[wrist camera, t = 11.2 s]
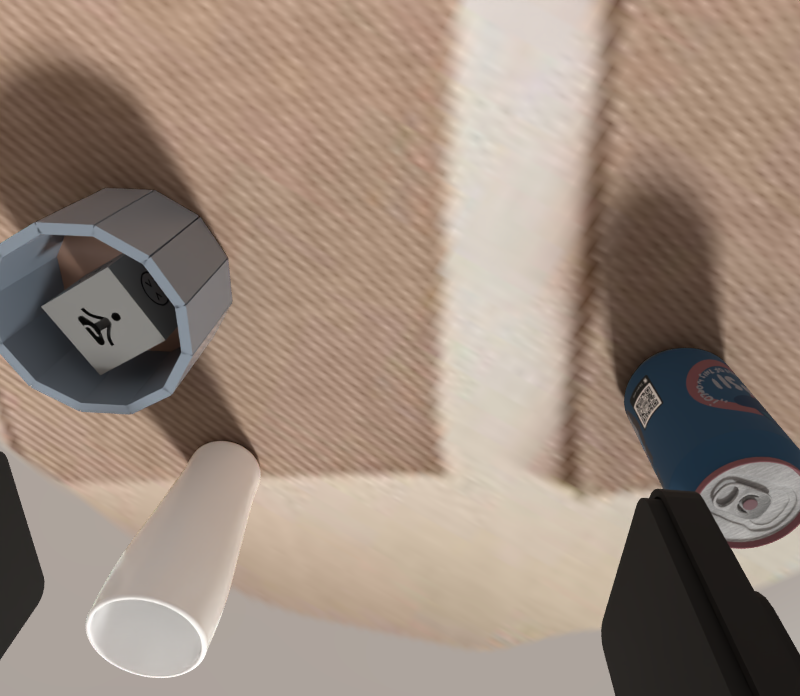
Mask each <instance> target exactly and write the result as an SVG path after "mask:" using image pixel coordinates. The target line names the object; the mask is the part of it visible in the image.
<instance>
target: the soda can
mask: <svg viewBox="0 0 800 696" xmlns="http://www.w3.org/2000/svg"><path fill="white" fill-rule="evenodd" d="M624 405H625V411H626V414H627V416H628V418H629V420H630V422H631V424H632V426H633V428H634V430H635V433H636V435H637V437H638V439H639V441H640V443H641V445H642V447H643V449H644V451H645V453H646V455H647V457H648V459H649V461H650V463H651V465H652V467H653V469H654V471H655V473H656V475H657V477H658V479H659V481H660V483H661V485H662V487H663V489H668V490H681V491H695V492H697V493H699V494H700V495H701V496H702V498H703V499H704V501H705V503H706V504H707V506H708V508H709V510H710V512H711V514H712V515H713V517H714V519H715V521H716V523H717V524H718V526H719V528H720V530H721V532H722V533H723V535H724V537H725V539H726V541H727V542H728V544H729V546H730V548H736V549H745V548H754V547H759V546H763V545H767V544H769V543H772V542H775V541H777V540H779V539H781V538H783V537H784V536H786V535H787V534H789V533H790V532H792V531H793V530H794V529H795V528H796V527H797V526H798V525H799V524H800V450H799V448H798V447H797V446H796V445H795V444H794V443H793V441H792V440H791V439H790V438H789V437H788V435H787V434H786V433H785V432H784V431H783V430H782V428H781V427H780V426H779V425H778V424H777V423H776V421H775V420H774V419H773V418H772V417H771V416H770V414H769V413H768V412H767V411H766V410H765V409H764V407H763V406H762V405H761V404H760V403H759V402H758V400H757V399H756V398H755V397H754V396H753V394H752V393H751V392H750V391H749V390H748V389H747V387H746V386H745V385H744V384H743V383H742V382H741V380H740V379H739V378H738V377H737V376H736V375H735V373H734V372H733V371H732V370H731V369H730V368H729V366H728V365H727V364H726V363H725V362H724V361H723V360H722V359H721V358H719V357H718V356H716V355H714V354H712V353H710V352H708V351H705V350H701V349H695V348H677V349H670V350H666V351H662V352H660V353H657V354H655V355H653V356H651V357H650V358H648V359H647V360H646V361H644V362H643V363H642V364H641V365H640V366H639V367H638V369H637V370H636V371H635V372H634V374H633V375H632V377H631V379H630V381H629V383H628V385H627V388H626V391H625V397H624Z"/></svg>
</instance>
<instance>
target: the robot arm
mask: <svg viewBox="0 0 800 696" xmlns="http://www.w3.org/2000/svg"><path fill="white" fill-rule="evenodd" d="M43 590H44V576H43V573H42V570H41V567H40V563H39V560H38V557H37V554H36V550H35V547H34V544H33V541H32V537H31V534H30V531H29V528H28V524H27V521H26V518H25V515H24V512H23V508H22V505H21V502H20V499H19V495H18V492H17V489H16V485H15V482H14V479H13V476H12V472H11V469H10V466H9V463H8V459H7V457H6V455H5V454H4V453H3V452H0V659H1V658H2V656H3V655H4V653H5V652H6V650H7V649H8V647H9V646H10V644H11V643H12V642H13V640H14V639H15V637H16V636H17V634H18V633H19V631H20V630H21V628H22V627H23V625H24V624H25V622H26V621H27V620H28V618H29V617H30V615H31V613H32V612H33V611H34V609H35V608H36V606H37V605H38V603H39V601H40V599H41V597H42V594H43ZM601 637H602V645H603V650H604V653H605V658H606V662H607V665H608V669H609V673H610V676H611V680H612V684H613V688H614V692H615V696H800V654H799V652H798V651H797V649H796V647H795V645H794V644H793V642H792V640H791V638H790V637H789V635H788V633H787V631H786V630H785V628H784V626H783V624H782V622H781V621H780V619H779V617H778V616H777V614H776V612H775V610H774V608H773V607H772V606H771V604H770V603H769V602H768V600H767V599H766V598H765V597H764V596H763V595H761V594H760V593H759V592H757V591H754V589H753V588H752V586H751V584H750V582H749V580H748V579H747V577H746V575H745V573H744V571H743V570H742V568H741V566H740V564H739V562H738V561H737V559H736V557H735V555H734V553H733V551H732V550H731V548H730V546H729V544H728V542H727V541H726V539H725V537H724V535H723V533H722V532H721V530H720V528H719V526H718V524H717V523H716V521H715V519H714V517H713V515H712V514H711V512H710V510H709V508H708V506H707V504H706V503H705V501H704V499H703V498H702V496H701V495H700V494H699V493H697V492H695V491H681V490H668V489H655V490H654V491H653V492H652V493H651V495H650V498H641V499H640V500H639V501H638V503H637V506H636V509H635V513H634V516H633V520H632V523H631V526H630V530H629V533H628V536H627V540H626V543H625V547H624V550H623V553H622V557H621V560H620V564H619V567H618V570H617V574H616V577H615V580H614V584H613V587H612V591H611V594H610V597H609V601H608V604H607V607H606V611H605V614H604V618H603V621H602V629H601Z"/></svg>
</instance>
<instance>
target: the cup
mask: <svg viewBox="0 0 800 696" xmlns="http://www.w3.org/2000/svg"><path fill="white" fill-rule="evenodd" d="M198 217H199V216H198V215H197V214H195V213H193V212H191V211H190V210H188V209H186V208H185V207H183V206H181V205H179V204H178V203H176V202H174V201H173V200H171V199H169V198H167V197H166V196H164V195H162V194H161V193H159V192H157V191H154V190H145V189H122V188H104V189H102V190H100V191H98V192H96V193H94V194H92V195H90V196H88V197H86V198H84V199H81V200H79V201H77V202H75V203H73V204H71V205H69V206H67V207H65V208H63V209H61V210H59V211H57V212H55V213H53V214H51V215H49V216H47V217H45V218H42V219H40V220H38V221H36V222H34V223H33V224H31V225H29V226H28V227H26V228H24V229H23V230H21V231H20V232H18V233H16V234H15V235H13V236H11V237H10V238H8V239H7V240H5V241H3V242H2V243H0V354H1V355H2V356H3V357H4V359H5V360H6V361H7V362H8V363H9V364H10V365H11V366H12V367H13V369H14V370H15V371H16V372H17V373H18V374H19V375H20V376H21V377H22V379H23V380H24V381H25V382H26V383H27V384H28V385H29V386H31V385H32V386H31V388H33V389H35V390H37V391H39V392H41V393H43V394H45V395H47V396H50V397H52V398H54V399H56V400H58V401H60V402H62V403H64V404H66V405H68V406H70V407H72V408H74V409H76V410H78V411H80V410H81V412H96V413H114V414H133V413H135V412H137V411H139V410H141V409H144V408H146V407H148V406H150V405H152V404H154V403H156V402H158V401H160V400H162V399H164V398H166V397H168V396H170V395H172V394H173V393H174V391H175V390H176V388H177V387H178V386H179V384H180V383H181V381H182V380H183V379H184V377H185V376H186V374H187V373H188V372H189V370H190V369H191V367H192V366H193V365H194V363H195V362H196V360H197V359H198V358H199V356H200V355H201V354H202V352H203V351H204V349H205V348H206V347H207V345H208V344H209V342H210V341H211V340H212V338H213V337H214V335H215V333H216V332H217V330H218V328H219V326H220V324H221V322H222V320H223V319H224V317H225V315H226V313H227V311H228V309H229V307H230V306H231V304H232V292H231V282H230V272H229V262H228V259H227V258H228V257H227V256H226V254H225V253H224V251H223V250H222V248H221V247H220V245H219V244H218V242H217V241H216V239H215V238H214V236H213V235H212V234H211V232H210V231H209V229H208V228H207V226H206V225H205V223H204V222H203V220H202V219H201V217H200V218H198ZM122 253H124V254H125V255H127V256H129V257H131V258H133V259H134V260H136V261H138V262H140V263H142V264H143V265H144V266H145V268H146V269H147V270H148V272H149V273H150V274H151V276H152V277H153V278H154V280H155V281H156V282H157V284H158V285H159V286H160V288H161V289H162V291H163V292H164V293H165V295H166V296H167V297H168V299H169V300H170V301H171V303H172V304H173V305H174V307H175V311H176V318H177V325H178V327H177V328H176V329H175V330H174V331H173V332H172V334H171V335H170V336H169V337H168V338H167V339H166V340H165V341H163V342H162V343H160V344H158V345H156V346H154V347H152V348H150V349H149V350H147V351H145V352H143V353H141V354H139V355H137V356H135V357H134V358H132V359H130V360H128V361H126V362H124V363H122V364H121V365H119V366H117V367H115V368H113V369H111V370H109V371H107V372H106V373H104V374H102V375H100V374H99V373H98V372H97V371H96V370H95V369H94V367H93V366H92V365H91V364H90V363H89V362H88V361H87V359H86V358H85V357H84V356H83V355H82V354H81V352H80V351H79V350H78V349H77V348H76V347H75V345H74V344H73V343H72V342H71V341H70V340H69V338H68V337H67V336H66V335H65V334H64V333H63V332H62V330H61V329H60V328H59V327H58V326H57V325H56V323H55V322H54V321H53V320H52V319H51V318H50V316H49V315H48V314H47V313H46V312H45V311H44V309H43V308H42V307H41V306H43V305H44V304H46V303H47V302H48V301H50V300H51V299H53V298H54V297H55V296H57V295H58V294H60V293H61V292H63V291H64V290H65V289H67V288H68V287H70V286H71V285H72V284H74V283H75V282H77V281H78V280H80V279H81V278H82V277H84V276H85V275H87V274H88V273H90V272H92V271H94V270H95V269H97V268H99V267H100V266H102V265H104V264H105V263H107V262H109V261H110V260H112V259H114V258H115V257H117V256H119V255H120V254H122Z"/></svg>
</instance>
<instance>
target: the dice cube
mask: <svg viewBox="0 0 800 696" xmlns="http://www.w3.org/2000/svg"><path fill="white" fill-rule="evenodd" d="M41 307H42V308H43V309H44V311H45V312H46V313H47V314H48V315H49V316H50V318H51V319H52V320H53V321H54V322H55V323H56V325H57V326H58V327H59V328H60V329H61V330H62V332H63V333H64V334H65V335H66V336H67V337H68V338H69V340H70V341H71V342H72V343H73V344H74V345H75V347H76V348H77V349H78V350H79V351H80V352H81V354H82V355H83V356H84V357H85V358H86V359H87V361H88V362H89V363H90V364H91V365H92V366H93V367H94V369H95V370H96V371H97V372H98V373H99V374H100V375H102V374H104V373H106V372H107V371H109V370H111V369H113V368H115V367H117V366H119V365H121V364H122V363H124V362H126V361H128V360H130V359H132V358H134V357H135V356H137V355H139V354H141V353H143V352H145V351H147V350H149V349H150V348H152V347H154V346H156V345H158V344H160V343H162V342H163V341H165V340H166V339H167V338H168V337H169V336H170V335H171V334H172V332H173V331H174V330H175V329H176V328H177V327H178V325H177V318H176V311H175V307H174V305H173V304H172V303H171V301H170V300H169V299H168V297H167V296H166V295H165V293H164V292H163V291H162V289H161V288H160V286H159V285H158V284H157V282H156V281H155V280H154V278H153V277H152V276H151V274H150V273H149V272H148V270H147V269H146V268H145V266H144V265H143V264H142V263H140V262H138V261H136V260H134V259H133V258H131V257H129V256H127V255H125V254H124V253H122V254H120V255H119V256H117V257H115V258H114V259H112V260H110V261H109V262H107V263H105V264H104V265H102V266H100V267H99V268H97V269H95V270H94V271H92V272H90V273H88V274H87V275H85V276H84V277H82V278H81V279H80V280H78V281H77V282H75V283H74V284H72V285H71V286H70V287H68V288H67V289H65V290H64V291H63V292H61V293H60V294H58V295H57V296H55V297H54V298H53V299H51V300H50V301H48V302H47V303H46V304H44V305H43V306H41Z"/></svg>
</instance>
